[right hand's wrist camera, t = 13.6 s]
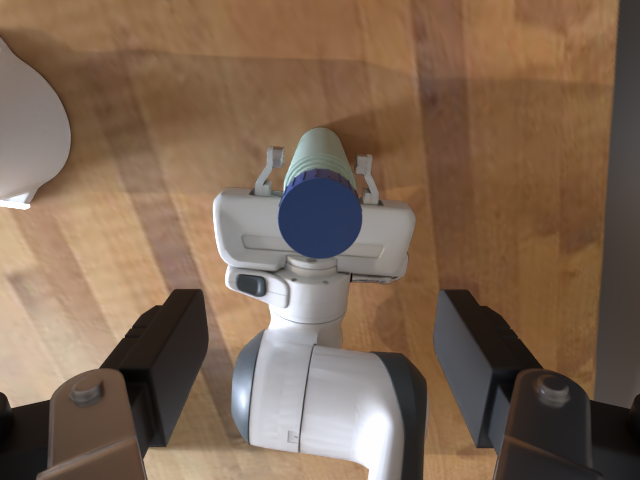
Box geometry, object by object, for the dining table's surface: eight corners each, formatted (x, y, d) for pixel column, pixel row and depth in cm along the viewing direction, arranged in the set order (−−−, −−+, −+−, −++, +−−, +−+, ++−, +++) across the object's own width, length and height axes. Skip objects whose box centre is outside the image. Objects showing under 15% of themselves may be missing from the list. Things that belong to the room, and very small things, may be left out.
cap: (311, 256, 24) (310, 274, 21) (265, 197, 22) (258, 210, 20) (373, 215, 23) (379, 230, 20) (329, 151, 21) (330, 159, 19)
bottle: (315, 180, 45) (309, 275, 22) (289, 144, 43) (254, 207, 20) (350, 155, 44) (384, 228, 21) (325, 118, 42) (331, 152, 19)
